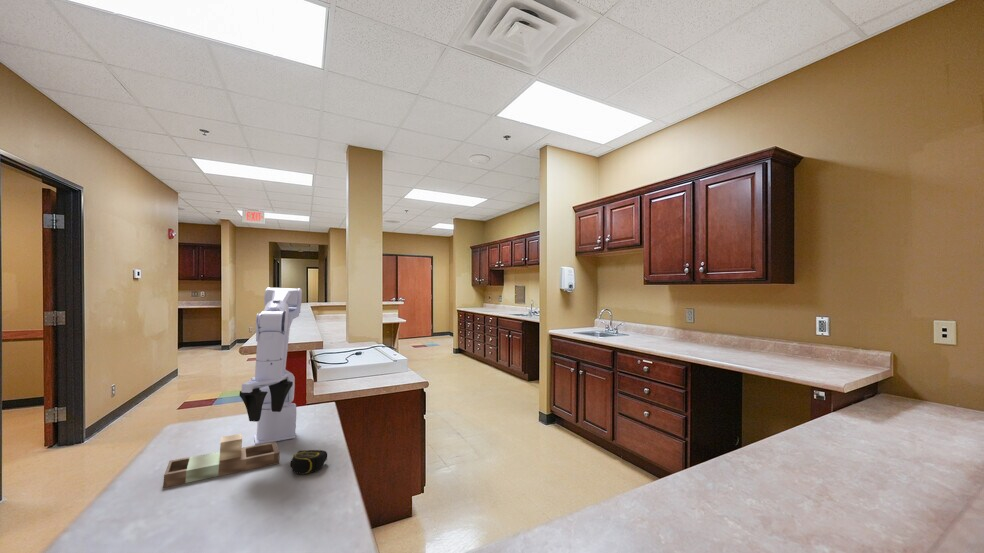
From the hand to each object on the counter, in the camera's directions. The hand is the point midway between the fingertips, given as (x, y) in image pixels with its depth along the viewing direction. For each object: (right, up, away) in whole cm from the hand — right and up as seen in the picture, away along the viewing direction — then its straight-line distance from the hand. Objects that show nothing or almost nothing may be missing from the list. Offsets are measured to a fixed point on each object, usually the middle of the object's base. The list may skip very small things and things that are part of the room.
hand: (265, 416), depth 88 cm
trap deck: (-6, -10, -5) cm, 13 cm away
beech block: (-5, -8, -4) cm, 10 cm away
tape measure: (+12, -11, -4) cm, 17 cm away
